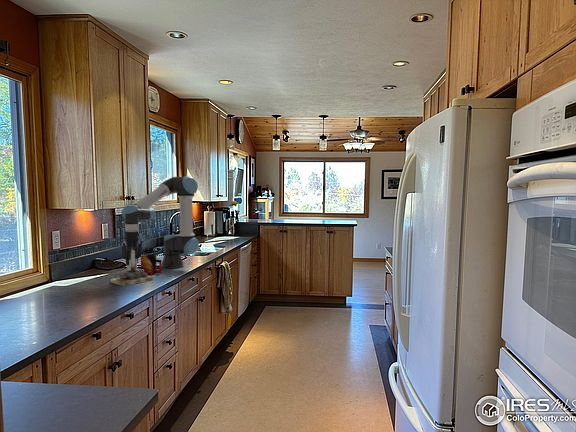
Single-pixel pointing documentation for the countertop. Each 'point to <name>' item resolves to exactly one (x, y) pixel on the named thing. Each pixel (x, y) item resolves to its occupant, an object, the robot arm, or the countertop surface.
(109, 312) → the countertop surface
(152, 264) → the mug
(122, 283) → the chain ends
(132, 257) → the steel pin
